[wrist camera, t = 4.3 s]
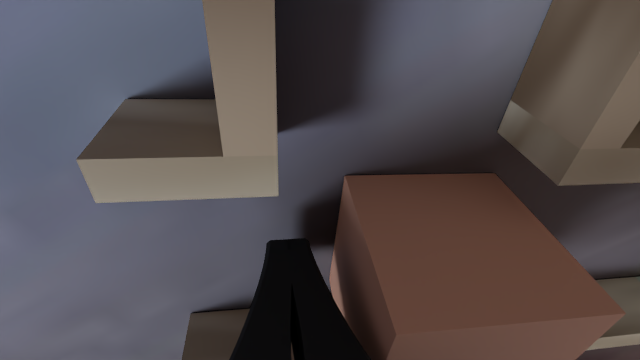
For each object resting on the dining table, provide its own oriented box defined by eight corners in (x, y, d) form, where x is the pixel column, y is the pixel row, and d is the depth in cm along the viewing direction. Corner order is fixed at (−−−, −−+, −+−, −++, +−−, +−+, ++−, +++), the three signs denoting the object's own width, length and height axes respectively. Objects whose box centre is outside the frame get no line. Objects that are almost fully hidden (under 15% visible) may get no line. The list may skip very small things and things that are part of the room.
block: (448, 271, 14) (521, 408, 10) (329, 278, 13) (357, 430, 9) (494, 173, 11) (626, 313, 7) (344, 175, 10) (396, 334, 6)
